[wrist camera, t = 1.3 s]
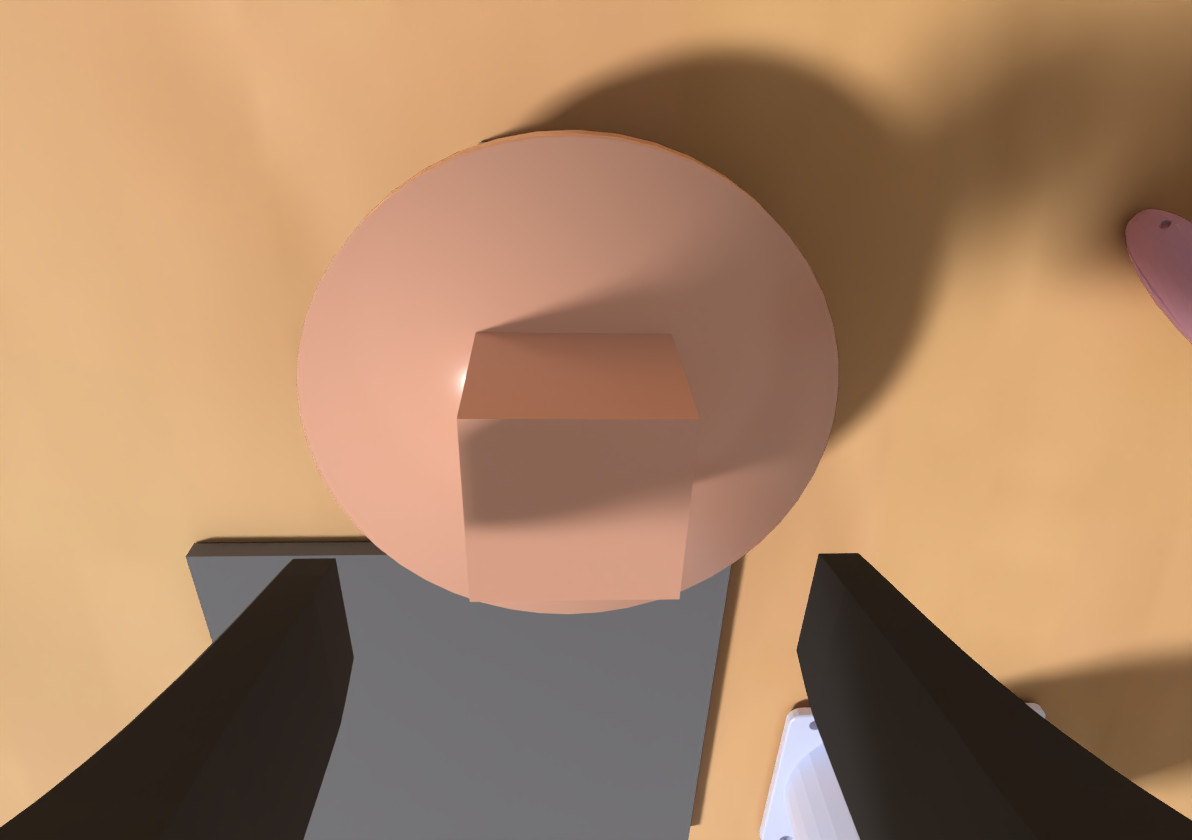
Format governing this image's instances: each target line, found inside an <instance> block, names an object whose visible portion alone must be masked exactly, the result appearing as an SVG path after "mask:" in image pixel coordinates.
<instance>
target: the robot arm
mask: <svg viewBox="0 0 1192 840" xmlns="http://www.w3.org/2000/svg"><path fill="white" fill-rule="evenodd" d="M797 654H798V658H799V663H800V667H801V671H802V675H803V680H804V684H805V688H806V692H807V696H808V700H809V703H810V707H803V708H796V709H794V710H792V711H791V712H790V713H789V714H788V715H787V717H786V721H785V725H784V730H783V734H782V738H781V742H780V747H779V751H778V755H777V759H776V764H775V768H774V772H773V776H772V781H771V785H770V789H769V793H768V798H767V802H766V806H765V810H764V815H763V819H762V823H761V827H760V832H759V833H760V838H761V840H1192V820H1190V819H1188V818H1187V817H1185V816H1184V815H1182V814H1181V813H1179V812H1178V811H1176V810H1174V809H1173V808H1171V807H1170V806H1168V805H1167V804H1165V803H1163V802H1162V801H1160V800H1159V799H1157V798H1156V797H1154V796H1153V795H1151V794H1149V793H1148V792H1146V791H1145V790H1143V789H1142V788H1140V787H1139V786H1137V785H1136V784H1134V783H1133V782H1131V781H1130V780H1129V779H1127V778H1126V777H1124V776H1123V775H1121V774H1120V773H1118V772H1117V771H1115V770H1114V769H1112V768H1111V767H1110V766H1108V765H1107V764H1106V763H1104V762H1103V761H1101V760H1100V759H1099V758H1097V757H1096V756H1094V755H1093V754H1092V753H1090V752H1089V751H1088V750H1086V749H1085V748H1083V747H1082V746H1081V745H1079V744H1078V743H1076V742H1075V741H1074V740H1072V739H1071V738H1070V737H1068V736H1067V735H1065V734H1064V733H1063V732H1061V731H1060V730H1059V729H1057V728H1056V727H1055V726H1054V725H1052V724H1051V723H1050V722H1048V721H1047V720H1046V719H1045V717H1046V715H1045V713H1044V711H1043V710H1042V708H1041V707H1040V705H1038V704H1036V703H1024V702H1023V701H1022V700H1021V699H1020V698H1018V697H1017V696H1016V695H1015V694H1013V693H1012V692H1011V691H1010V690H1009V689H1007V688H1006V687H1005V686H1004V685H1002V684H1001V683H1000V682H999V681H998V680H996V679H995V678H994V677H993V676H992V675H990V674H989V673H988V672H987V671H986V670H985V669H983V668H982V667H981V666H980V665H979V664H978V663H977V662H975V661H974V660H973V659H972V658H971V657H970V656H969V655H967V654H966V653H965V652H964V651H963V650H962V649H961V648H960V647H958V646H957V645H956V644H955V643H954V642H953V641H952V640H951V639H950V638H948V637H947V636H946V635H945V634H944V633H943V632H942V631H941V630H940V629H939V628H938V627H936V626H935V625H934V624H933V623H932V622H931V621H930V620H929V619H928V618H927V617H926V616H925V615H924V614H922V613H921V612H920V611H919V610H918V609H917V608H916V607H915V606H914V605H913V604H912V603H911V602H910V601H909V600H908V599H907V598H905V597H904V596H903V595H902V594H901V593H900V592H899V591H898V590H897V589H896V588H895V587H894V586H893V585H892V584H891V583H890V582H889V581H888V580H887V579H885V578H884V577H883V576H882V575H881V574H880V573H879V572H878V571H877V570H876V569H875V568H874V567H873V566H872V565H871V564H870V563H868V562H867V561H866V560H865V559H864V558H863V557H862V556H861V555H860V554H858V553H837V554H819V555H818V559H817V564H816V568H815V572H814V577H813V581H812V585H811V590H810V594H809V598H808V603H807V607H806V611H805V616H804V620H803V624H802V629H801V633H800V637H799V642H798V646H797ZM353 660H354V655H353V650H352V644H351V639H350V633H349V628H348V623H347V617H346V612H345V606H344V601H343V596H342V590H341V585H340V579H339V574H338V568H337V563H336V558H310V559H292V560H291V561H290V562H289V563H288V564H287V565H286V566H285V567H284V568H283V569H282V570H281V571H280V572H279V573H278V574H277V575H276V577H275V578H274V579H273V580H272V581H271V582H270V583H269V584H268V585H267V586H266V587H265V588H264V589H263V591H262V592H261V593H260V594H259V595H258V596H257V597H256V598H255V599H254V600H253V601H252V602H251V603H250V605H249V606H248V607H247V608H246V609H245V610H244V611H243V612H242V613H241V614H240V615H239V616H238V617H237V618H236V619H235V620H234V622H233V623H232V624H231V625H230V626H229V627H228V628H227V629H226V630H225V631H224V632H223V633H222V634H221V635H220V636H219V637H218V638H217V639H216V640H215V641H214V642H213V643H212V644H211V645H210V646H209V647H208V648H207V649H206V650H205V651H204V652H203V653H202V654H201V655H200V656H199V657H198V658H197V660H196V661H195V662H194V663H193V664H192V665H191V666H190V667H189V668H188V669H187V670H186V671H185V672H184V673H183V674H182V675H181V676H180V677H178V678H177V679H176V680H175V681H174V682H173V683H172V684H171V685H170V686H169V687H168V688H167V689H166V690H165V691H164V692H163V693H161V694H160V695H159V696H158V697H157V698H156V699H155V700H154V701H153V702H152V703H151V704H150V705H149V706H148V707H147V708H145V709H144V710H143V711H142V712H141V713H140V714H139V715H138V716H137V717H136V718H135V719H134V720H133V721H132V722H130V723H129V724H128V725H127V726H126V727H125V728H124V729H123V730H122V731H120V732H119V733H118V734H117V735H116V736H115V737H114V738H112V739H111V740H110V741H109V742H108V743H107V744H106V745H104V746H103V747H102V748H101V749H100V750H99V751H97V752H96V753H95V754H94V755H93V756H92V757H90V758H89V759H88V760H87V761H86V762H84V763H83V764H82V765H81V766H80V767H78V768H77V769H76V770H75V771H73V772H72V773H71V774H70V775H68V776H67V777H66V778H65V779H64V780H62V781H61V782H60V783H59V784H57V785H56V786H55V787H54V788H52V789H51V790H50V791H49V792H47V793H46V794H45V795H44V796H42V797H41V798H40V799H38V800H37V801H36V802H34V803H33V804H32V805H30V806H29V807H28V808H26V809H25V810H24V811H22V812H21V813H19V814H18V815H17V816H15V817H14V818H13V819H11V820H10V821H9V822H7V823H6V824H4V825H3V826H2V827H0V840H303V839H304V836H305V833H306V830H307V827H308V824H309V821H310V818H311V815H312V812H313V809H314V806H315V803H316V800H317V797H318V794H319V791H320V788H321V785H322V782H323V779H324V775H325V772H326V769H327V766H328V763H329V760H330V757H331V754H332V751H333V747H334V744H335V741H336V738H337V735H338V732H339V728H340V725H341V721H342V716H343V711H344V707H345V702H346V697H347V692H348V687H349V681H350V676H351V671H352V665H353Z"/></svg>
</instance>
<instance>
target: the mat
mask: <svg viewBox="0 0 1192 840" xmlns="http://www.w3.org/2000/svg"><path fill="white" fill-rule="evenodd" d="M310 558H336V563H337V568H338V574H339V579H340V585H341V590H342V596H343V601H344V606H345V612H346V617H347V623H348V628H349V633H350V639H351V644H352V650H353V655H354V660H353V665H352V671H351V676H350V681H349V687H348V692H347V697H346V702H345V707H344V711H343V716H342V721H341V725H340V728H339V732H338V735H337V738H336V741H335V744H334V747H333V751H332V754H331V757H330V760H329V763H328V766H327V769H326V772H325V775H324V779H323V782H322V785H321V788H320V791H319V794H318V797H317V800H316V803H315V806H314V809H313V812H312V815H311V818H310V821H309V824H308V827H307V830H306V833H305V836H304V839H303V840H688V837H689V831H690V824H691V818H692V812H693V805H694V799H695V793H696V786H697V780H698V773H699V767H700V761H701V754H702V748H703V742H704V735H705V729H706V722H707V716H708V710H709V703H710V697H711V691H712V684H713V678H714V671H715V665H716V659H717V652H718V646H719V640H720V633H721V627H722V620H723V614H724V608H725V601H726V595H727V588H728V582H729V576H730V569H731V565H729V566H728V567H726V568H725V569H723V570H721V571H720V572H718V573H717V574H715V575H713V576H712V577H710V578H708V579H706V580H704V581H702V582H700V583H698V584H696V585H694V586H692V587H690V588H688V589H686V590H683V591H681V592H680V598H679V599H666V600H656V601H652V602H648V603H644V604H640V605H637V606H633V607H629V608H623V609H617V610H611V611H604V612H596V613H580V614H550V613H535V612H527V611H520V610H512V609H507V608H503V607H499V606H494V605H490V604H486V603H482V602H470V599H469V598H467V597H464V596H461V595H458V594H455V593H453V592H450V591H448V590H446V589H444V588H442V587H440V586H438V585H435V584H433V583H431V582H429V581H427V580H425V579H423V578H422V577H420V576H418V575H417V574H415V573H413V572H412V571H410V570H408V569H407V568H405V567H403V566H402V565H400V564H399V563H398V562H396V561H395V560H394V559H392V558H391V557H390V556H388V555H387V554H386V553H385V552H383V551H382V550H381V549H379V548H378V547H377V546H376V545H375V544H374V543H373V542H307V543H194V545H193V546H192V548H191V549H190V551H189V553H188V554H187V556H186V559H187V562H188V565H189V568H190V572H191V575H192V578H193V581H194V584H195V588H196V591H197V594H198V597H199V600H200V604H201V607H202V610H203V613H204V616H205V620H206V623H207V626H208V629H209V632H210V636H211V639H212V642H214V641H215V640H216V639H217V638H218V637H219V636H220V635H221V634H222V633H223V632H224V631H225V630H226V629H227V628H228V627H229V626H230V625H231V624H232V623H233V622H234V620H235V619H236V618H237V617H238V616H239V615H240V614H241V613H242V612H243V611H244V610H245V609H246V608H247V607H248V606H249V605H250V603H251V602H252V601H253V600H254V599H255V598H256V597H257V596H258V595H259V594H260V593H261V592H262V591H263V589H264V588H265V587H266V586H267V585H268V584H269V583H270V582H271V581H272V580H273V579H274V578H275V577H276V575H277V574H278V573H279V572H280V571H281V570H282V569H283V568H284V567H285V566H286V565H287V564H288V563H289V562H290V561H291V560H292V559H310Z"/></svg>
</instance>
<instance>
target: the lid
mask: <svg viewBox="0 0 1192 840" xmlns="http://www.w3.org/2000/svg"><path fill="white" fill-rule="evenodd" d="M838 389H839V369H838V351H837V344H836V338H835V332H834V325H833V322H832V319H831V316H830V313H829V310H828V306H827V303H826V300H825V297H824V294H823V292H822V290H821V288H820V286H819V284H818V282H817V280H816V278H815V276H814V274H813V272H812V270H811V268H810V266H809V264H808V262H807V261H806V259H805V258H804V257H803V255H802V254H801V252H800V251H799V249H798V248H797V247H796V245H795V244H794V242H793V241H792V239H791V238H790V237H789V235H788V234H787V233H786V232H785V231H784V230H783V229H782V228H781V226H780V225H779V224H778V223H777V222H776V221H775V220H774V219H773V218H772V217H771V216H770V215H769V214H768V213H767V212H766V211H765V210H764V209H763V208H762V206H761V205H760V204H759V203H758V202H757V201H756V200H755V199H754V198H753V197H752V196H750V195H749V194H748V193H746V192H745V191H744V190H743V189H741V188H740V187H739V186H737V185H736V184H735V183H734V182H732V181H731V180H730V179H728V178H727V177H726V176H724V175H723V174H721V173H719V172H718V171H716V170H714V169H712V168H710V167H709V166H707V165H705V164H703V163H702V162H700V161H698V160H696V159H695V158H693V157H691V156H688V155H686V154H683V153H681V152H678V151H676V150H673V149H670V148H668V147H665V146H663V145H660V144H658V143H655V142H651V141H647V140H642V139H638V138H634V137H630V136H625V135H621V134H617V133H607V132H596V131H585V130H558V131H536V132H531V133H525V134H520V135H515V136H509V137H504V138H499V139H495V140H492V141H489V142H486V143H483V144H480V145H477V146H474V147H471V148H468V149H465V150H462V151H459V152H457V153H455V154H453V155H451V156H449V157H447V158H445V159H443V160H441V161H439V162H437V163H435V164H433V165H431V166H429V167H427V168H425V169H423V170H422V171H420V172H419V173H418V174H416V175H415V176H413V177H412V178H410V179H409V180H408V181H406V182H405V183H403V184H402V185H400V186H399V187H398V188H396V189H395V190H393V191H392V192H391V193H390V194H389V195H388V196H387V197H386V198H385V199H384V200H383V201H382V202H380V203H379V204H378V205H377V206H376V207H375V208H374V209H373V210H372V211H371V212H370V213H369V214H368V215H367V216H366V217H365V218H364V219H363V221H362V222H361V223H360V224H359V226H358V227H357V228H356V229H355V231H354V232H353V233H352V235H351V236H350V237H349V238H348V240H347V241H346V242H345V244H344V245H343V246H342V247H341V249H340V250H339V251H338V253H337V254H336V255H335V256H334V258H333V260H332V262H331V263H330V265H329V267H328V269H327V270H326V272H325V274H324V276H323V278H322V279H321V281H320V283H319V285H318V287H317V288H316V291H315V294H314V297H313V299H312V302H311V305H310V307H309V310H308V313H307V316H306V318H305V321H304V326H303V332H302V337H301V342H300V347H299V352H298V370H297V392H298V400H299V409H300V418H301V421H302V425H303V429H304V433H305V436H306V440H307V444H308V447H309V450H310V452H311V454H312V457H313V459H314V461H315V464H316V466H317V468H318V471H319V473H320V475H321V477H322V479H323V480H324V482H325V484H326V485H327V487H328V489H329V490H330V492H331V494H332V495H333V497H334V499H335V500H336V502H337V503H338V505H339V506H340V507H341V508H342V510H343V511H344V512H345V513H346V515H347V516H348V517H349V518H350V520H351V521H352V522H353V523H354V525H355V526H356V527H357V528H358V529H359V530H360V531H361V532H362V533H363V534H364V535H365V536H367V537H368V538H369V539H370V540H371V541H372V542H373V543H374V544H375V545H376V546H377V547H378V548H379V549H381V550H382V551H383V552H385V553H386V554H387V555H388V556H390V557H391V558H392V559H394V560H395V561H396V562H398V563H399V564H400V565H402V566H403V567H405V568H407V569H408V570H410V571H412V572H413V573H415V574H417V575H418V576H420V577H422V578H423V579H425V580H427V581H429V582H431V583H433V584H435V585H438V586H440V587H442V588H444V589H446V590H448V591H450V592H453V593H455V594H458V595H461V596H464V597H467V598H469V599H470V602H482V603H486V604H490V605H494V606H499V607H503V608H507V609H512V610H520V611H527V612H535V613H550V614H580V613H596V612H604V611H611V610H617V609H623V608H629V607H633V606H637V605H640V604H644V603H648V602H652V601H656V600H666V599H679V598H680V592H681V591H683V590H686V589H688V588H690V587H692V586H694V585H696V584H698V583H700V582H702V581H704V580H706V579H708V578H710V577H712V576H713V575H715V574H717V573H718V572H720V571H721V570H723V569H725V568H726V567H728V566H729V565H731V564H733V563H734V562H736V561H737V560H738V559H740V558H741V557H742V556H743V555H745V554H746V553H747V552H749V551H750V550H751V549H752V548H754V547H755V546H756V545H757V544H759V543H760V542H761V541H762V540H763V539H764V538H765V537H766V536H767V535H768V534H769V533H770V532H771V531H772V530H773V529H774V528H775V527H776V526H777V525H778V524H779V523H780V522H781V521H782V519H783V518H784V517H785V516H786V514H787V513H788V512H789V511H790V509H791V508H792V507H793V506H794V504H795V503H796V502H797V501H798V499H799V498H800V496H801V494H802V493H803V491H804V489H805V488H806V486H807V485H808V483H809V481H810V480H811V478H812V476H813V475H814V473H815V470H816V468H817V466H818V464H819V461H820V459H821V457H822V455H823V452H824V450H825V448H826V445H827V441H828V438H829V435H830V431H831V428H832V424H833V421H834V417H835V410H836V403H837V396H838Z"/></svg>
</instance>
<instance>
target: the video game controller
mask: <svg viewBox="0 0 1192 840" xmlns="http://www.w3.org/2000/svg"><path fill="white" fill-rule="evenodd" d="M1125 241H1126V246H1127V250H1128V254H1129V257H1130V260H1131V263H1132V265H1133V267H1134V269H1135V270H1136V272H1137V274H1138V276H1139V278H1140V280H1141V282H1142V283H1143V285H1144V286H1145V288H1146V289H1147V291H1148V292H1149V294H1150V295H1151V297H1152V298H1153V300H1154V301H1155V303H1156V304H1157V305H1158V307H1159V308H1160V309H1161V310H1162V311H1163V313H1164V314H1165V315H1166V316H1167V317H1168V319H1169V320H1170V321H1171V322H1172V323H1173V325H1174V326H1175V327H1176V328H1177V329H1178V330H1179V331H1180V332H1181V333H1182V334H1183V335H1184V336H1185V337H1186V339H1187V340H1188V341H1189V342H1190V343H1191V344H1192V222H1190V221H1188V220H1186V219H1184V218H1183V217H1181V216H1179V215H1176V214H1172V213H1169V212H1166V211H1163V210H1156V209H1147V210H1144V211H1141V212H1138V213H1137V214H1136V215H1135V216H1134V217H1133V218H1132V219H1131V220H1130V221H1129V222H1128V224H1127V227H1126V235H1125Z"/></svg>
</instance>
